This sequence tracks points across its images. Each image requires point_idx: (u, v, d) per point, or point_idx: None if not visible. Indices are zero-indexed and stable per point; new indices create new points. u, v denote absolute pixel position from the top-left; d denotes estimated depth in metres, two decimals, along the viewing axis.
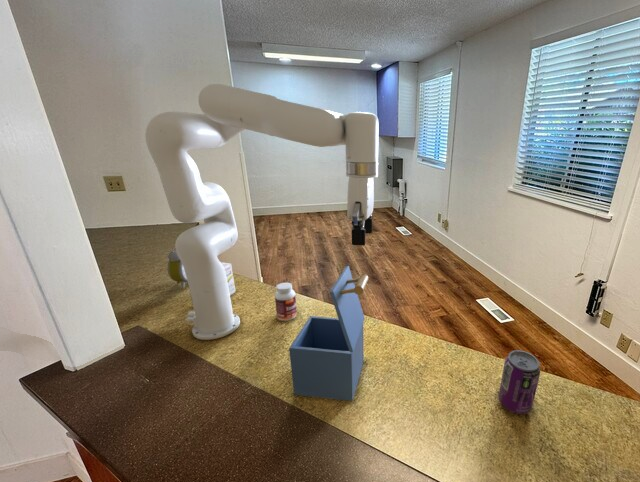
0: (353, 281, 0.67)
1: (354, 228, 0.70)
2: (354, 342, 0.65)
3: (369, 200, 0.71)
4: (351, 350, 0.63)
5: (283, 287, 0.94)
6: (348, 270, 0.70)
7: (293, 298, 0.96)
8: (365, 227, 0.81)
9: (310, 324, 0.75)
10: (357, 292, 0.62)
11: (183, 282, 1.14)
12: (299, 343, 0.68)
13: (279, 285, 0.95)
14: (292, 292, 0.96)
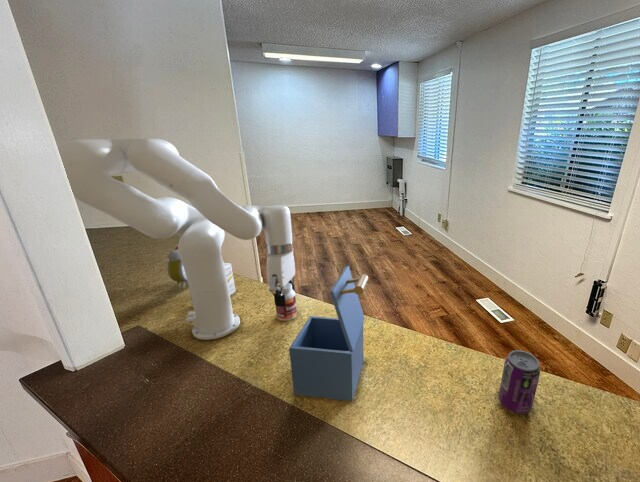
0: (353, 281, 0.67)
1: (275, 295, 0.91)
2: (354, 342, 0.65)
3: (285, 272, 0.90)
4: (351, 350, 0.63)
5: None
6: (348, 270, 0.70)
7: (293, 298, 0.96)
8: None
9: (310, 324, 0.75)
10: (357, 292, 0.62)
11: (183, 282, 1.14)
12: (299, 343, 0.68)
13: None
14: (292, 292, 0.96)
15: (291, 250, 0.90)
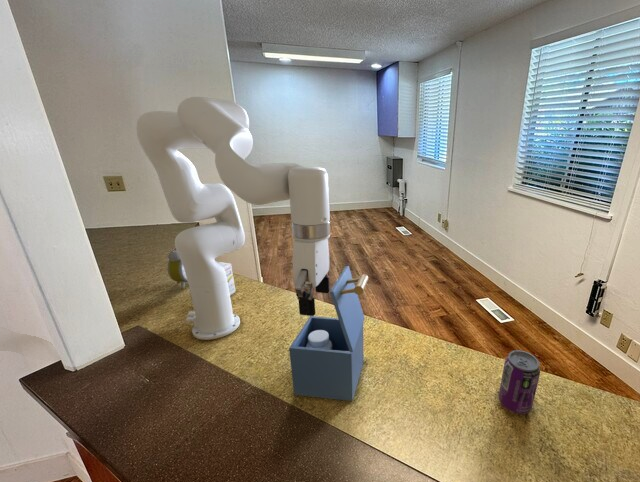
0: (353, 281, 0.67)
1: (300, 298, 0.60)
2: (354, 342, 0.65)
3: (319, 265, 0.61)
4: (351, 350, 0.63)
5: (317, 339, 0.69)
6: (348, 270, 0.70)
7: None
8: (321, 286, 0.71)
9: (310, 324, 0.75)
10: (357, 292, 0.62)
11: (183, 282, 1.14)
12: (299, 343, 0.68)
13: (312, 335, 0.71)
14: (329, 344, 0.71)
15: (328, 233, 0.61)
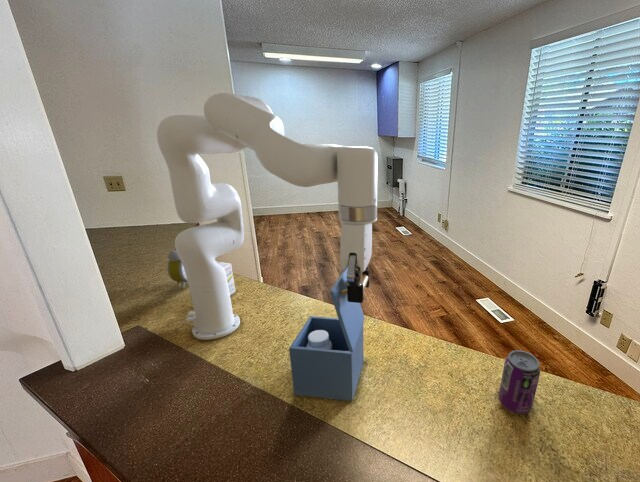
0: None
1: (350, 285, 0.60)
2: (354, 342, 0.65)
3: (366, 250, 0.59)
4: (351, 350, 0.63)
5: (317, 339, 0.69)
6: None
7: None
8: None
9: (310, 324, 0.75)
10: None
11: (183, 282, 1.14)
12: (299, 343, 0.68)
13: (311, 335, 0.71)
14: (329, 344, 0.71)
15: (376, 216, 0.59)
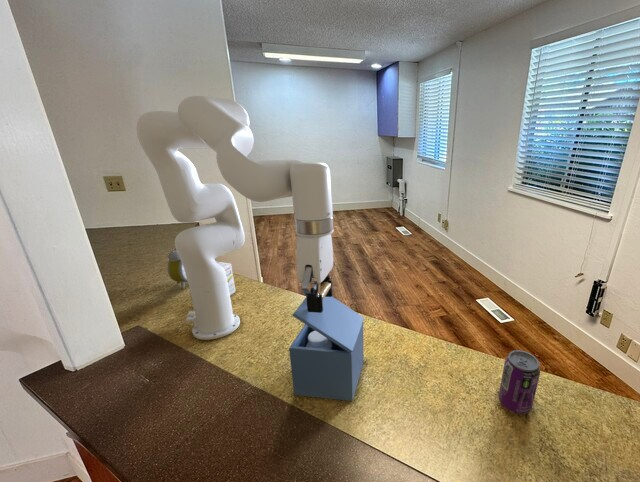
0: None
1: (308, 295, 0.62)
2: (351, 342, 0.65)
3: (323, 261, 0.61)
4: (350, 350, 0.63)
5: (317, 339, 0.69)
6: None
7: None
8: None
9: None
10: None
11: (183, 282, 1.14)
12: (299, 343, 0.68)
13: (311, 335, 0.71)
14: (329, 344, 0.71)
15: (331, 229, 0.61)
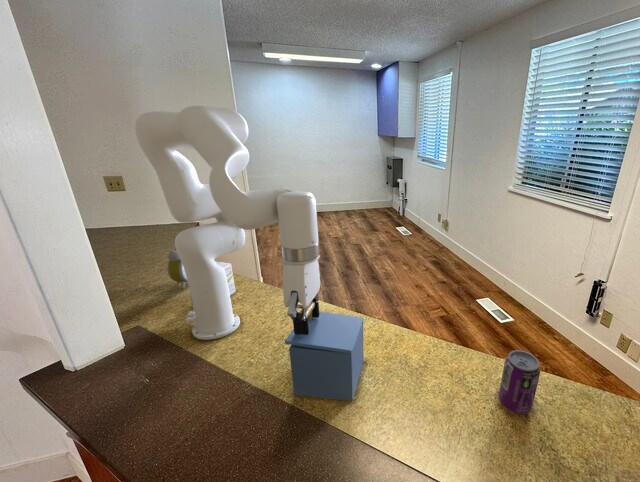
0: (309, 314, 0.71)
1: (294, 319, 0.64)
2: (350, 343, 0.65)
3: (308, 286, 0.63)
4: (349, 351, 0.63)
5: None
6: None
7: None
8: None
9: None
10: None
11: (183, 282, 1.14)
12: None
13: None
14: None
15: (317, 255, 0.63)
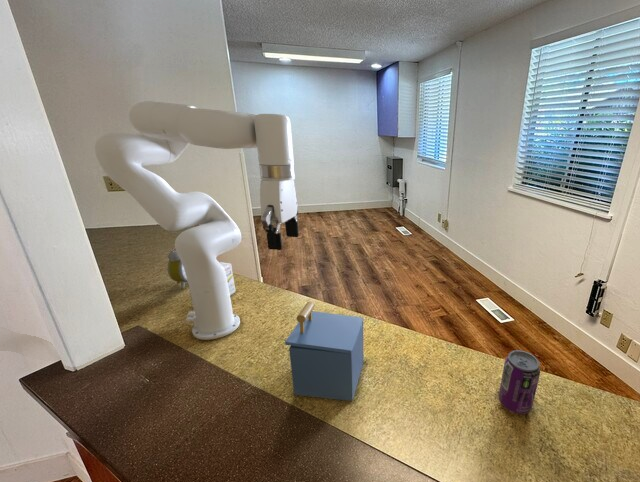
0: (309, 315, 0.71)
1: (267, 232, 0.68)
2: (350, 343, 0.65)
3: (284, 203, 0.69)
4: (349, 351, 0.63)
5: None
6: None
7: None
8: (291, 231, 0.79)
9: None
10: (302, 320, 0.66)
11: (183, 282, 1.14)
12: None
13: None
14: None
15: (292, 175, 0.69)
